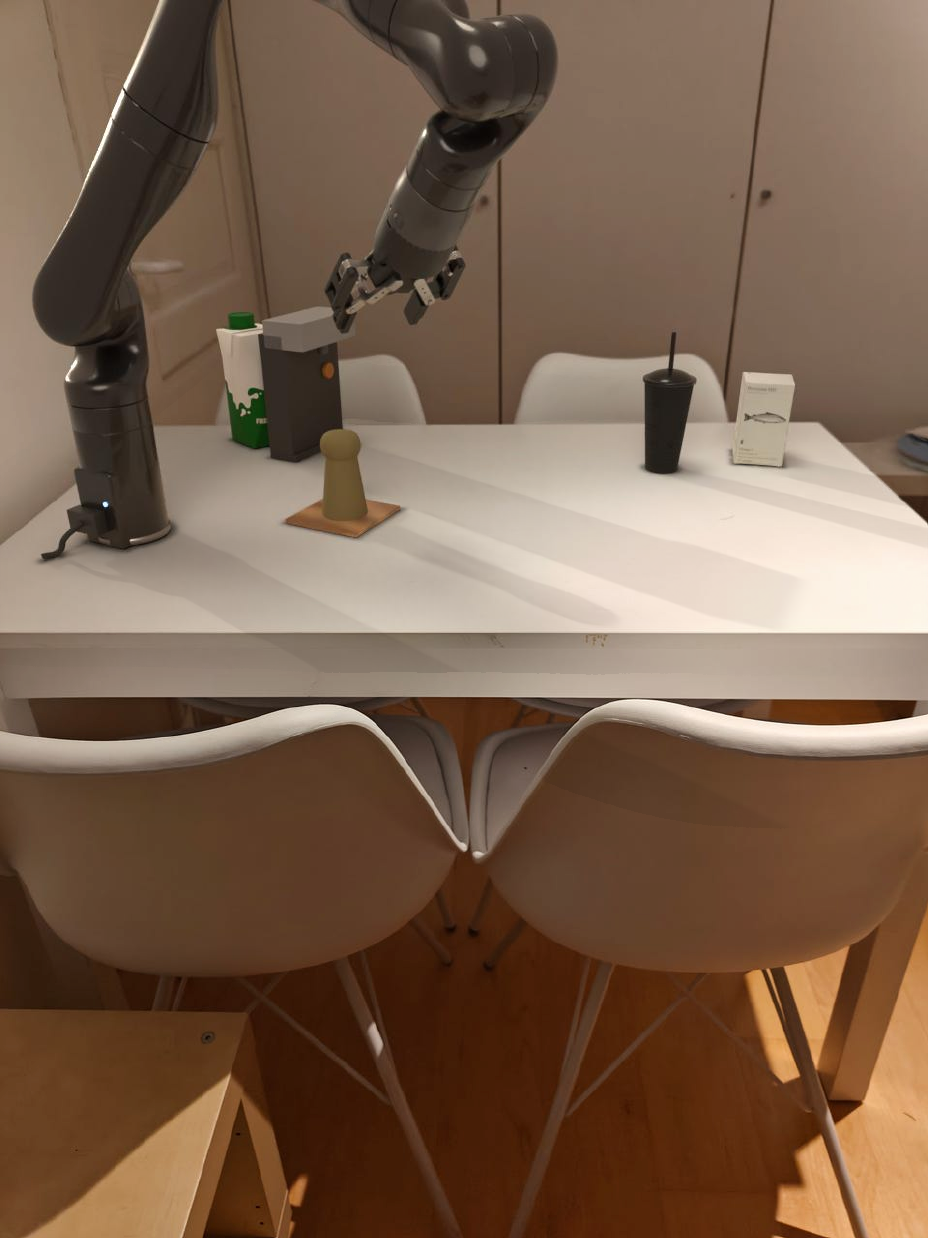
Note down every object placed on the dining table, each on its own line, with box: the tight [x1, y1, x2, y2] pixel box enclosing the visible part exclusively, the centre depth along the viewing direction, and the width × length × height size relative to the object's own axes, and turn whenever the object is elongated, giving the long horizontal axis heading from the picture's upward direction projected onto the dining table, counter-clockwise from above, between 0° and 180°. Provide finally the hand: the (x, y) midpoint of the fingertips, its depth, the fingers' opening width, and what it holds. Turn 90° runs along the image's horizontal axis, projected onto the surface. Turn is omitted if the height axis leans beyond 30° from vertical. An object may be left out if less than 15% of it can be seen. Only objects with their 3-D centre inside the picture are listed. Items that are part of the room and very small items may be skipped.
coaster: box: [284, 498, 401, 538], centre depth 123 cm, size 11×11×1 cm
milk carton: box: [215, 311, 270, 449], centre depth 150 cm, size 9×9×20 cm
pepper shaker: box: [320, 428, 368, 521], centre depth 121 cm, size 6×6×11 cm
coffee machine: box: [258, 306, 357, 463], centre depth 145 cm, size 14×8×21 cm, turn 153°
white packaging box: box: [731, 371, 796, 467], centre depth 141 cm, size 7×7×13 cm
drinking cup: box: [642, 331, 698, 474], centre depth 136 cm, size 8×8×20 cm
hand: (375, 322), depth 102 cm, fingers open, 8 cm apart
